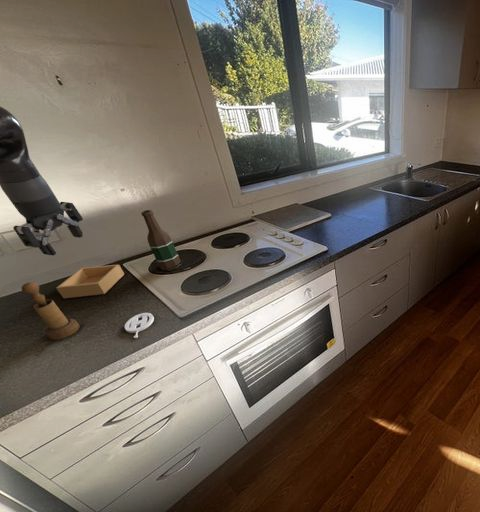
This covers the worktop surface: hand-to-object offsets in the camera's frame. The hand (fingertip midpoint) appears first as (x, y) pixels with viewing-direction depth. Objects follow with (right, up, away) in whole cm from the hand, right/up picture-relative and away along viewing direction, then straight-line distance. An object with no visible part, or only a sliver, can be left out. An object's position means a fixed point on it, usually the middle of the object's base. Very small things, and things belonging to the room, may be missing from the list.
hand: (65, 245), depth 82 cm
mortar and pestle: (-6, -26, +5) cm, 27 cm away
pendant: (+15, -25, +7) cm, 30 cm away
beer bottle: (+3, -7, +36) cm, 37 cm away
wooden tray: (-16, -14, +25) cm, 33 cm away
